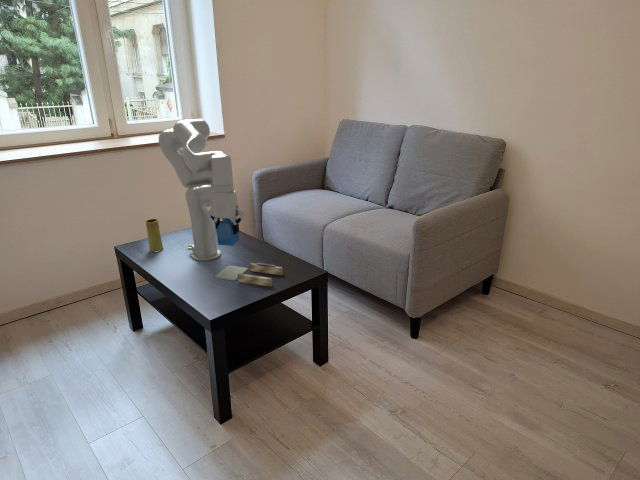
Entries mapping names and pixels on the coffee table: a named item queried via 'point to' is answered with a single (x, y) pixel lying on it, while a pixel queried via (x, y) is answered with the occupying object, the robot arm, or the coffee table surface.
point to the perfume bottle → (226, 233)
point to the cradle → (257, 279)
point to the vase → (154, 235)
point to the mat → (231, 272)
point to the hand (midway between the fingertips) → (227, 232)
